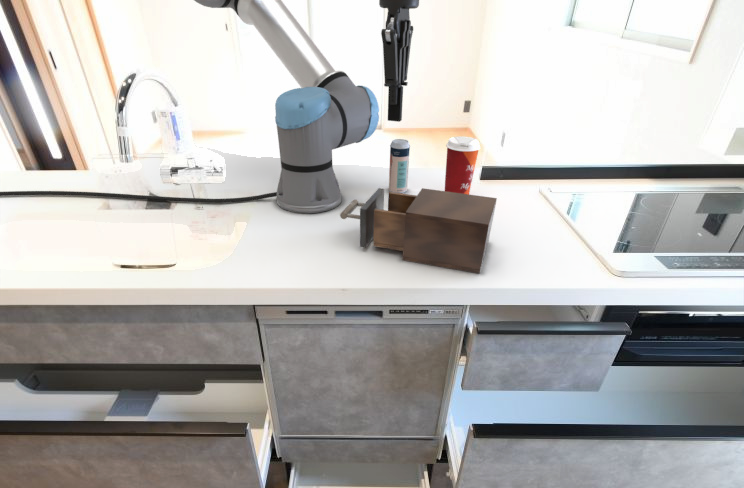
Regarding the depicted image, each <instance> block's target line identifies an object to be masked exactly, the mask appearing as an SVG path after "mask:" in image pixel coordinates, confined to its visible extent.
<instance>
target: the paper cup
mask: <svg viewBox="0 0 744 488" xmlns="http://www.w3.org/2000/svg"><path fill="white" fill-rule="evenodd" d="M445 146H446V161H445V162H446V163H445V178H444V179H445V180H444V191H447V192H454V193H462V194H469V195H470V191H471V188H472V187H471V186H472V182H473V177H474V173H475V168H476V164H477V159H478V155H479V151H480V150H481V145H480V141H479V139H478V138H475V137H472V136H471V137H470V136H463V135H461V136H458V135H457V136H452V137H450V138H448V141H447V143H446V145H445Z"/></svg>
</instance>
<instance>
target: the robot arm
mask: <svg viewBox="0 0 744 488" xmlns="http://www.w3.org/2000/svg"><path fill="white" fill-rule="evenodd" d="M193 1H194V2H195V3H197V4H199V5H202V6H203V7H207V8H211V9H232V10H233V11H234V13H236V15H237V17H239V19H240V20H241V21H242V22H243V23H244V24H246V25H250V26H253V27H254V28H255V29H256V30H257V32H258V33H259V34H260V36H261V37H262V38H263V39H264V41H265V42H266V43H267V45H268V46H269V47H270V49H271V50H272V51H273V53H274V54H275V55H276V57H277V58H278V59H279V61H280V62H281V63H282V64H283V66H284V67H285V68H286V69H287V71H288V72H289V74H290V75H291V76H292V78H293V79H294V80H295V81H296V83H297V84H298V85H299V87H297V88H293V89H289V90H287V91H284V92H282V93H281V94H280V95H279V96H278V97H277V98H276V100H275V103H274V104H275V105H274V107H275V108H274V109H275V116H274V119H275V121H274V122H275V125H276V131H277V139H278V148H279V157H280V158H279V159H280V168H281V169H280V175H279V178H278V179H279V180H278V185H277V188H276V191H275V192H269V193H263V194H259V195H251V196H243V197H229V198H227V197H226V198H203V197H202V198H201V197H200V198H199V197H177V196H160V195H159V196H158V195H144V194H128V193H114V192H96V191H94V192H93V191H74V190H73V191H72V190H71V191H67V190H18V191H17V190H15V191H13V190H12V191H11V190H10V191H0V197H8V196H9V197H10V196H13V197H14V196H15V197H16V196H72V197H73V196H74V197H75V196H76V197H98V198H113V199H114V198H115V199H133V200H145V201H158V202H159V201H160V202H176V203H177V202H178V203H179V202H181V203H202V204H228V203H229V204H231V203H241V202H242V203H243V202H252V201H260V200H263V199H269V198H275V197H276V202H277V205H278V206H279V208H281V209H283V210H285V211H288V212H292V213H296V214H297V213H298V214H316V213H323V212H327V211H330V210H333V209H335V208H337V207H338V206H339V205H340V204H341V203H342V191H341V188H340V185H339V181H338V178H337V176H336V174H335V171H334V168H333V150H336V149H339V148H343V147H345V146H346V147H347V146H350V145H352V144H359V143H361V142H363V141H364V140H367V139H368V138H370V137H372V136H373V134H374V133H375V132H376V129H377V127H378V125H379V119H380V115H379V111H380V107H379V102H378V99H377V97H376V95H375V93H374V92H373V91H372V90H371V88H369V87H367V86H365V85H356V84H355V83H354V82H353V81H352V80H351V78H350V77H349V75H348V74H347V73H346V72H345V71H344V70H335V69H334V67H333V65H331V63H330V62H329V60H328V59H327V58H326V57H325V56H324V54H323V53H322V51H321V50H320V49H319V47H318V46H317V45H316V44H315V42H314V41H313V39H311V37H310V36H309V34H308V32H306V30H305V29H304V28H303V26H302V25H301V24H300V22H299V21H298V20H297V19H296V18H295V16H294V15H293V14H292V11H290V9H289V8H288V7H287V6H286V5H285V3H284V2H283V1H282V0H193ZM378 5H379V7H380V8H382V9H387V14H386V15H387V16H386V21H385V28H382V29H381V31H380V34H381V35H380V36H381V40H382V51H383V52H382V53H383V55H382V56H383V72H384V83H383V86H384V87H386V88H388V91H387V92H388V95H387V121H388V122H398V123H399V122H401V121H402V120H403V119H402V118H403V102H404V101H403V100H404V99H403V97H404V96H403V95H404V87H408V84H409V82H408V81H407V80H408V72H409V63H410V56H411V55H410V54H411V45H412V44H411V43H412V37H413V33H414V26H413V25H412V23H411V22H412V20H411V17H410V10H414V9H417V8H419V6H420V0H379V1H378Z"/></svg>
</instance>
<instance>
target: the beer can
mask: <svg viewBox="0 0 744 488" xmlns="http://www.w3.org/2000/svg"><path fill="white" fill-rule="evenodd" d="M389 146H390V148H389V172H388V189H387V190H388V192H395V193H402V194H405V193H406V192H407V191H408V178H409V166H410V165H409V163H410V161H409V160H410V148H411V144H410V143H409V140H408V139H403V138H395V139H392V140H391V143H390V145H389Z"/></svg>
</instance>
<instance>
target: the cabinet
mask: <svg viewBox="0 0 744 488" xmlns="http://www.w3.org/2000/svg"><path fill="white" fill-rule="evenodd" d="M497 200H498V198H497V197H490V196H483V195H475V194H470V193H469V194H462V193H454V192H447V191H445V190H437V189H431V188H423V187H422V188H421V189H420V191H419V192H418V194H417V197H416V198H415V199H414V201H413V202H412V204H411V205H410V207H409V208H408V210H407V211H406V215H405V230H404V245H403V251H402V261H405V262H412V263H417V264H422V265H428V266H434V267H438V268H439V267H440V268H444V269H445V268H446V269H449V270H457V271H462V272H468V273H474V274H481V270H482V266H483V263H484V259H485V256H486V253H487V249H488V245H489V241H490V235H491V231H492V227H493V220H494V215H495V209H496V204H497Z"/></svg>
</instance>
